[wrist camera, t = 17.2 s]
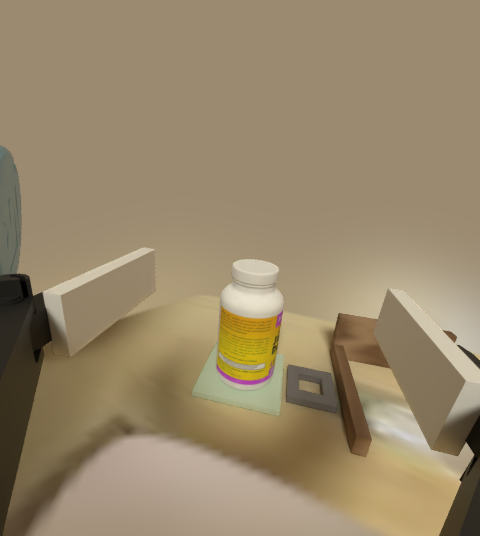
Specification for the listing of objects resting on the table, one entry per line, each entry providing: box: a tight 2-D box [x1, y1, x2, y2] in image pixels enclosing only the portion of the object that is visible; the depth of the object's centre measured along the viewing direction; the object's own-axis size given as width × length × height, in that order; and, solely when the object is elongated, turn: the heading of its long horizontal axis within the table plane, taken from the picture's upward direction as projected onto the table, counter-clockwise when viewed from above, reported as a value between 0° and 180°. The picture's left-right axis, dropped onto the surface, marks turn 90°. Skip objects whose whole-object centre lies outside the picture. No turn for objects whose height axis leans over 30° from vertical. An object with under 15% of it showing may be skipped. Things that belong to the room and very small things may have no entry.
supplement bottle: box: [216, 259, 284, 391], centre depth 28 cm, size 7×7×13 cm
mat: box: [192, 342, 284, 416], centre depth 30 cm, size 9×9×1 cm
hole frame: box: [286, 365, 337, 413], centre depth 29 cm, size 5×5×1 cm
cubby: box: [330, 313, 457, 457], centre depth 27 cm, size 13×15×6 cm
